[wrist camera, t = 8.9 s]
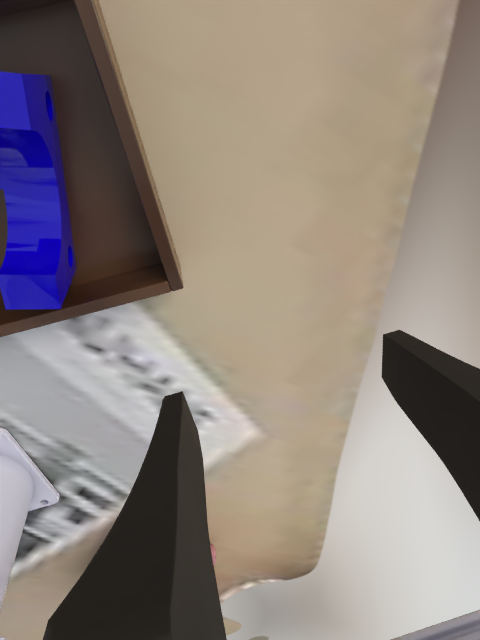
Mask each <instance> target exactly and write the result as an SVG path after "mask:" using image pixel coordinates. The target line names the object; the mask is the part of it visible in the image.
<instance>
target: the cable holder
mask: <svg viewBox="0 0 480 640" xmlns="http://www.w3.org/2000/svg"><path fill="white" fill-rule="evenodd" d="M0 189H3V190H4V195H5V201H6V209H7V222H8V235H7V247H6V253H5V257H4V261H3V264H2V266H1V269H0V289H1V293H2V297H3V301H4V305H5V309H6V310H14V309H61V307H62V304H63V302H64V299H65V297H66V294H67V291H68V289H69V286H70V284H71V281H72V278H73V276H74V273H75V271H76V260H75V253H74V245H73V238H72V230H71V223H70V215H69V208H68V200H67V193H66V185H65V178H64V170H63V163H62V155H61V148H60V140H59V133H58V125H57V118H56V110H55V103H54V95H53V88H52V80H51V75H46V74H37V73H28V72H19V71H11V70H2V69H0Z"/></svg>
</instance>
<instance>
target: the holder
mask: <svg viewBox="0 0 480 640" xmlns="http://www.w3.org/2000/svg"><path fill="white" fill-rule="evenodd" d="M0 69H2V70H11V71H19V72H28V73H37V74H46V75H51V80H52V88H53V95H54V103H55V110H56V118H57V125H58V133H59V140H60V148H61V155H62V163H63V170H64V178H65V185H66V193H67V200H68V208H69V215H70V223H71V230H72V238H73V245H74V253H75V260H76V271H75V273H74V276H73V278H72V281H71V284H70V286H69V289H68V291H67V294H66V297H65V299H64V302H63V304H62V307H61V309H14V310H6V309H5V305H4V301H3V297H2V293H1V289H0V337H2V336H6V335H10V334H14V333H17V332H21V331H25V330H29V329H33V328H36V327H40V326H44V325H48V324H51V323H55V322H59V321H63V320H66V319H70V318H74V317H78V316H81V315H85V314H89V313H93V312H96V311H100V310H104V309H108V308H111V307H115V306H119V305H123V304H126V303H130V302H134V301H138V300H142V299H145V298H149V297H153V296H157V295H160V294H164V293H168V292H171V290H172V291H175V290H179V289H182V288H183V281H182V275H181V269H180V264H179V261H178V257H177V254H176V251H175V248H174V244H173V241H172V238H171V235H170V231H169V228H168V225H167V222H166V218H165V215H164V212H163V209H162V205H161V202H160V199H159V196H158V192H157V189H156V186H155V183H154V179H153V176H152V173H151V170H150V166H149V163H148V160H147V157H146V153H145V150H144V147H143V144H142V140H141V137H140V134H139V131H138V127H137V124H136V121H135V118H134V115H133V111H132V108H131V105H130V102H129V98H128V95H127V92H126V89H125V85H124V82H123V79H122V76H121V72H120V69H119V66H118V63H117V59H116V56H115V53H114V50H113V46H112V43H111V40H110V37H109V33H108V30H107V27H106V24H105V20H104V17H103V14H102V11H101V7H100V4H99V1H98V0H0ZM7 235H8V222H7V209H6V201H5V195H4V190H3V189H0V269H1V266H2V264H3V261H4V257H5V253H6V247H7Z"/></svg>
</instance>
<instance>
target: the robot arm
mask: <svg viewBox="0 0 480 640" xmlns="http://www.w3.org/2000/svg"><path fill="white" fill-rule="evenodd" d="M382 378H383V380H384V382H385V384H386V385H387V387H388V389H389V391H390V392H391V394H392V396H393V397H394V399H395V400H396V402H397V403H398V405H399V406H400V407H401V409H402V410H403V411H404V412H405V414H406V415H407V416H408V418H409V419H410V420H411V421H412V423H413V424H414V425H415V426H416V428H417V429H418V430H419V432H420V433H421V434H422V435H423V437H424V438H425V439H426V440H427V442H428V443H429V444H430V446H431V447H432V448H433V449H434V450H435V452H436V453H437V455H438V456H439V457H440V459H441V460H442V461H443V463H444V464H445V466H446V467H447V469H448V470H449V472H450V474H451V475H452V477H453V478H454V480H455V481H456V483H457V484H458V486H459V488H460V489H461V490H462V492H463V494H464V496H465V497H466V499H467V501H468V502H469V504H470V506H471V507H472V509H473V511H474V512H475V514H476V516H477V517H478V519H479V521H480V369H479V368H476V367H474V366H471V365H469V364H467V363H465V362H463V361H461V360H458V359H457V358H455V357H452V356H450V355H448V354H446V353H444V352H442V351H440V350H438V349H436V348H434V347H432V346H430V345H429V344H427V343H425V342H423V341H421V340H419V339H417V338H415V337H413V336H411V335H409V334H407V333H405V332H403V331H401V330H397V331H394V332H390V333H387V334H384V335H383V356H382ZM59 497H60V494H59V493H58V492H57V490H56V489H55V488H54V487H53V486H52V484H51V483H50V482H49V481H48V479H47V478H46V477H45V476H44V475H43V473H42V472H41V471H40V470H39V468H38V467H37V466H36V465H35V464H34V462H33V461H32V460H31V459H30V457H29V456H28V455H27V454H26V453H25V451H24V450H23V449H22V448H21V446H20V445H19V444H18V443H17V442H16V440H15V439H14V438H13V437H12V435H11V434H10V433H9V432H8V431H7V430H6V429H4V428H0V610H1V607H2V603H3V599H4V596H5V592H6V589H7V585H8V581H9V578H10V574H11V571H12V567H13V564H14V560H15V556H16V553H17V549H18V546H19V542H20V539H21V535H22V531H23V528H24V524H25V521H26V517H27V514H28V511H31V510H35V509H38V508H41V507H45V506H48V505H52V504H55V503H57V502H58V501H59ZM0 640H6V638H4V637H0ZM43 640H226V634H225V628H224V623H223V617H222V612H221V606H220V601H219V595H218V589H217V583H216V577H215V571H214V566H213V559H212V553H211V547H210V541H209V533H208V524H207V511H206V496H205V482H204V468H203V457H202V451H201V446H200V440H199V435H198V430H197V428H196V425H195V422H194V420H193V417H192V415H191V412H190V409H189V407H188V404H187V402H186V399H185V396H184V394H183V391H182V392H179V393H175V394H172V395H168V396H165V397H164V399H163V401H162V406H161V410H160V414H159V418H158V421H157V424H156V428H155V431H154V434H153V437H152V440H151V443H150V446H149V449H148V452H147V454H146V457H145V459H144V462H143V464H142V467H141V469H140V472H139V474H138V477H137V479H136V481H135V483H134V486H133V488H132V490H131V492H130V494H129V496H128V498H127V500H126V502H125V504H124V506H123V508H122V510H121V512H120V514H119V516H118V517H117V519H116V521H115V523H114V525H113V526H112V528H111V530H110V532H109V533H108V535H107V537H106V538H105V540H104V542H103V543H102V545H101V546H100V548H99V550H98V551H97V553H96V554H95V556H94V557H93V559H92V560H91V562H90V563H89V565H88V566H87V568H86V570H85V571H84V573H83V574H82V576H81V577H80V578H79V580H78V581H77V583H76V584H75V585H74V587H73V588H72V589H71V591H70V592H69V593H68V595H67V596H66V598H65V599H64V600H63V602H62V603H61V604H60V606H59V607H58V608H57V610H56V611H55V612H54V614H53V615H52V616H51V618H50V619H49V620H48V623H47V627H46V631H45V634H44V637H43ZM391 640H480V610H478V611H475V612H472V613H469V614H466V615H463V616H460V617H457V618H454V619H451V620H448V621H445V622H442V623H439V624H436V625H433V626H430V627H427V628H424V629H422V630H418V631H415V632H413V633H409V634H406V635H403V636H401V637H397V638H394V639H391Z"/></svg>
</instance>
